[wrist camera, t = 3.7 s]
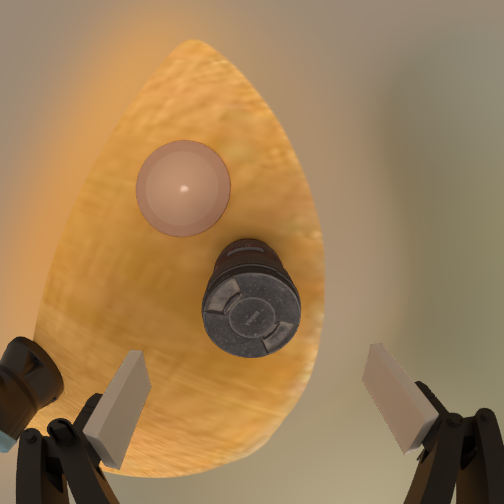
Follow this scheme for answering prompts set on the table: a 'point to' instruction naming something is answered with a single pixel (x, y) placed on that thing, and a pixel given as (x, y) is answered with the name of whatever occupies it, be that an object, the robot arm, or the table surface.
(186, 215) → the plate
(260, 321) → the camera lens
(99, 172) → the table surface
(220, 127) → the table surface
